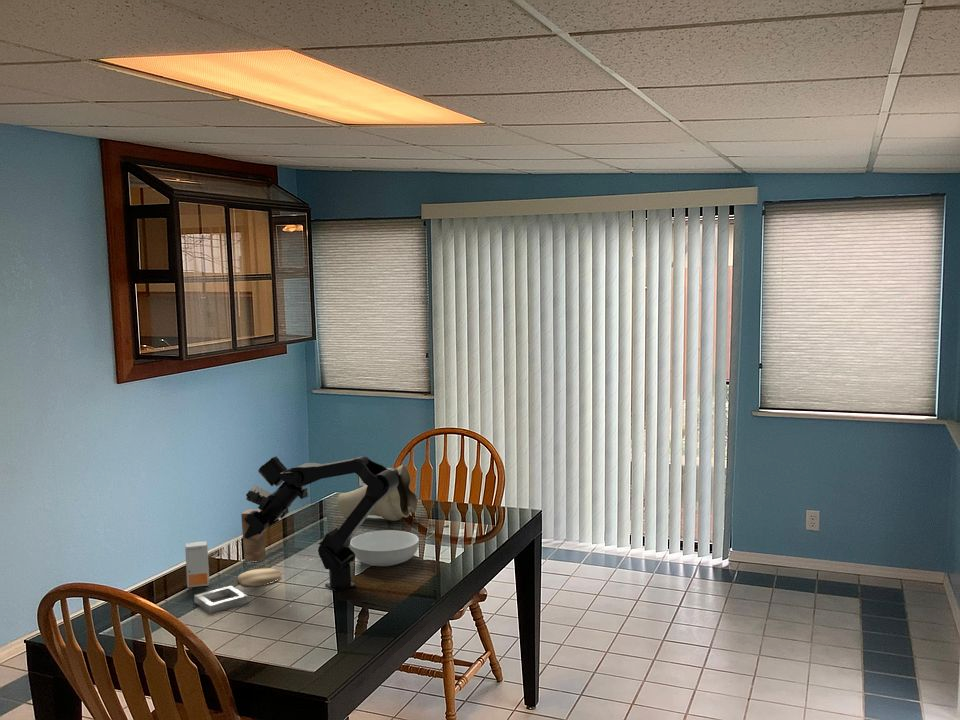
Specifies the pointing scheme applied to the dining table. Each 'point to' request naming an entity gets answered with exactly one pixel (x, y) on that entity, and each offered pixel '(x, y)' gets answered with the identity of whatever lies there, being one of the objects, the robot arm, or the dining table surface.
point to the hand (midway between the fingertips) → (249, 534)
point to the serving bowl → (384, 547)
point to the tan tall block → (252, 541)
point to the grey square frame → (211, 607)
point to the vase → (384, 499)
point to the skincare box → (197, 564)
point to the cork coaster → (258, 577)
